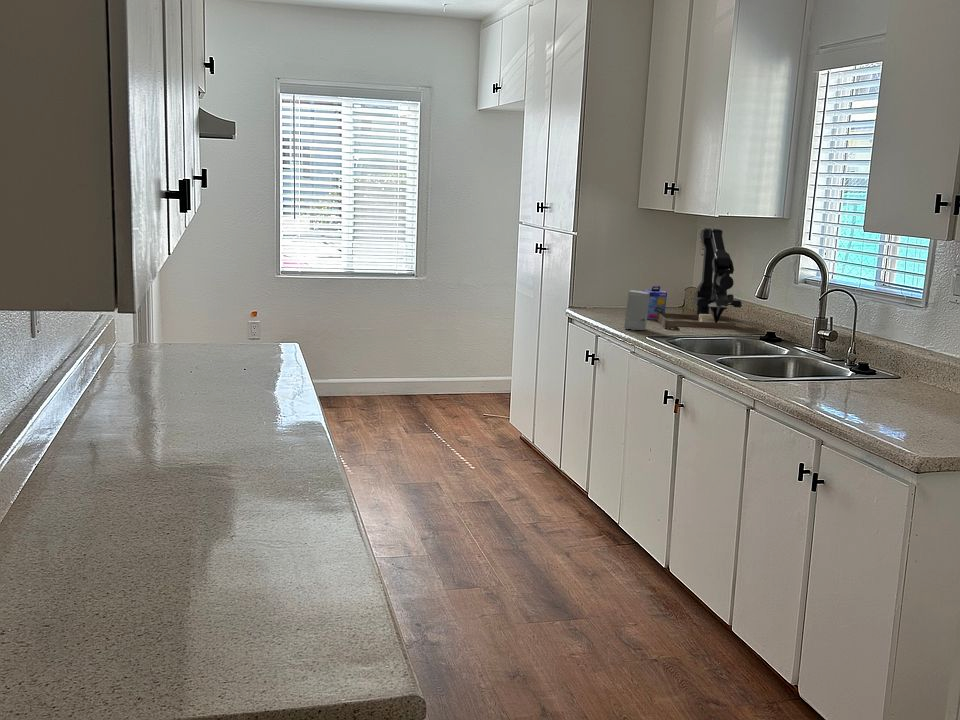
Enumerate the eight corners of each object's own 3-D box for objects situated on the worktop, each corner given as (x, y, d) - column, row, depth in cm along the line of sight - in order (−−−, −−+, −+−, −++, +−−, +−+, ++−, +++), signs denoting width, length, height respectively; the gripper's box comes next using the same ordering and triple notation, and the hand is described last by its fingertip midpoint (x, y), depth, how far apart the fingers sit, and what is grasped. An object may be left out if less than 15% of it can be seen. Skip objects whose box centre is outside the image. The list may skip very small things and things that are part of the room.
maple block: (698, 322, 399) (699, 313, 399) (710, 322, 400) (710, 314, 399) (701, 324, 395) (702, 316, 394) (713, 324, 395) (713, 316, 394)
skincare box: (623, 329, 382) (627, 291, 379) (626, 326, 389) (629, 289, 386) (644, 331, 380) (648, 293, 377) (646, 328, 387) (650, 290, 383)
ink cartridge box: (643, 319, 408) (646, 286, 405) (639, 317, 414) (642, 284, 410) (665, 319, 410) (668, 286, 407) (660, 317, 416) (663, 284, 412)
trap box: (657, 320, 406) (657, 312, 405) (723, 323, 406) (724, 315, 406) (665, 328, 389) (665, 320, 388) (734, 331, 389) (735, 323, 388)
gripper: (702, 287, 386) (698, 325, 389) (747, 289, 386) (743, 327, 389) (695, 284, 396) (692, 320, 400) (739, 285, 397) (735, 322, 400)
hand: (715, 322), depth 397 cm, fingers closed
